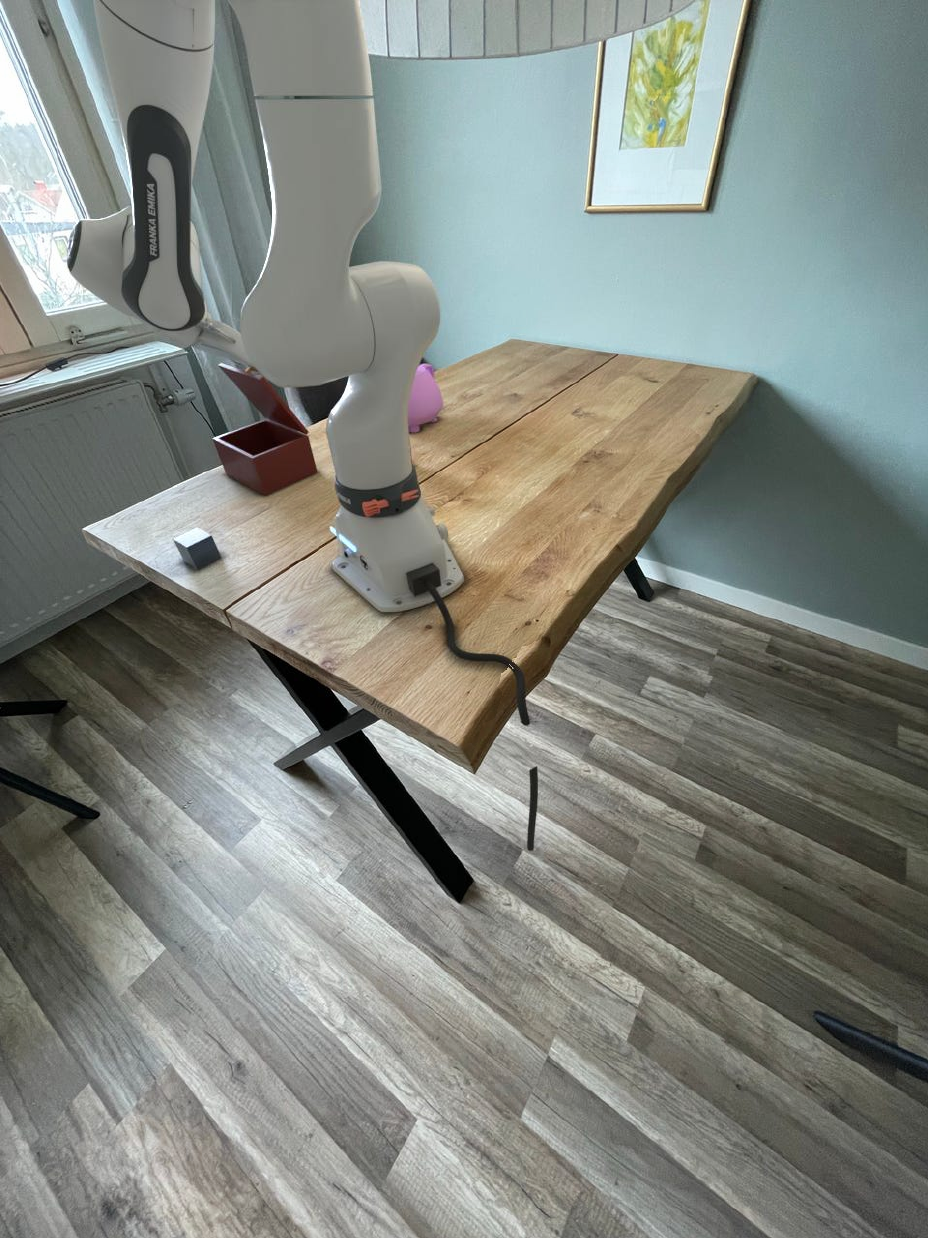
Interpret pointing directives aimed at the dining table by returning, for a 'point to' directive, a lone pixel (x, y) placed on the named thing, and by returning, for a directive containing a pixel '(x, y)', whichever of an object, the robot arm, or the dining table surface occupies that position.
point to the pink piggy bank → (424, 398)
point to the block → (197, 548)
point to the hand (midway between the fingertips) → (253, 364)
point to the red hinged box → (266, 456)
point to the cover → (263, 396)
